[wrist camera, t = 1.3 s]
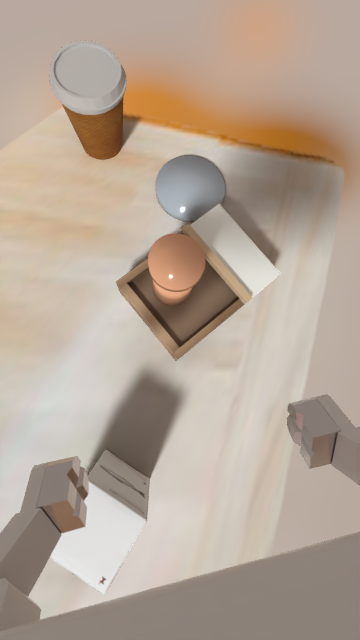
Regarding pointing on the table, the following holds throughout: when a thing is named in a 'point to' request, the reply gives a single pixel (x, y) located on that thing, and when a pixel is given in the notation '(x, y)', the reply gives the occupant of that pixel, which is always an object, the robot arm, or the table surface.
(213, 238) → the lid panel
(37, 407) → the table surface
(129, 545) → the supplement box
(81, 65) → the disposable coffee cup
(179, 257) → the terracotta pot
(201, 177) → the saucer
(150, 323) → the wooden box
